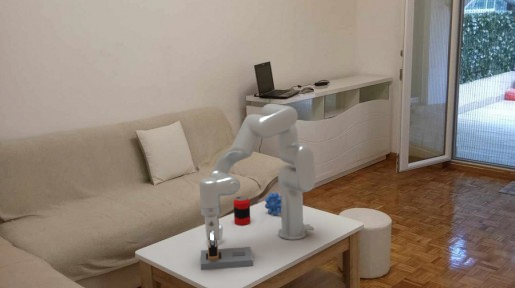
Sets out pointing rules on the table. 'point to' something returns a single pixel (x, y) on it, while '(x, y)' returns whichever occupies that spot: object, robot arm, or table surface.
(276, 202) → the grapes
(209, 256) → the block
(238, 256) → the socket plate
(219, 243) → the white short cylinder
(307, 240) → the table surface
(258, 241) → the table surface
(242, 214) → the soda can
